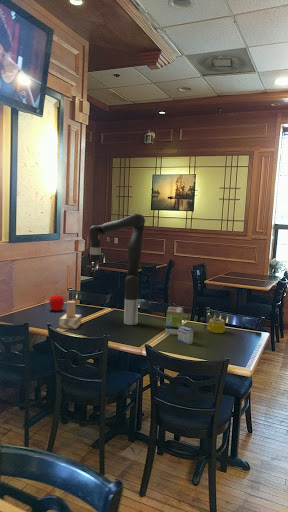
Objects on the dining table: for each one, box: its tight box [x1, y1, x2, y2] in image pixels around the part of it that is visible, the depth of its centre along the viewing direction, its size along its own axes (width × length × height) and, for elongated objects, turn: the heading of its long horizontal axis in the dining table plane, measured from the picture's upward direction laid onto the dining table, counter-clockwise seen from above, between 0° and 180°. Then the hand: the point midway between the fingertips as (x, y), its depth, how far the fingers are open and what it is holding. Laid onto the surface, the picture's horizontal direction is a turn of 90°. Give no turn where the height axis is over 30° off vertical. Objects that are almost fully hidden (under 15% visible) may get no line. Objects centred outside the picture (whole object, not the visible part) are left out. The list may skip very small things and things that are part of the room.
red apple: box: [48, 293, 65, 312], centre depth 279 cm, size 11×11×13 cm
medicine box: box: [177, 325, 194, 345], centre depth 216 cm, size 8×4×9 cm, turn 45°
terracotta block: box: [65, 300, 76, 318], centre depth 240 cm, size 5×5×10 cm
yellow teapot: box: [206, 314, 226, 334], centre depth 240 cm, size 13×11×12 cm
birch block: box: [58, 313, 82, 330], centre depth 241 cm, size 11×13×6 cm
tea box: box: [164, 306, 184, 335], centre depth 238 cm, size 15×10×15 cm, turn 171°
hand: (94, 276), depth 261 cm, fingers open, 8 cm apart
